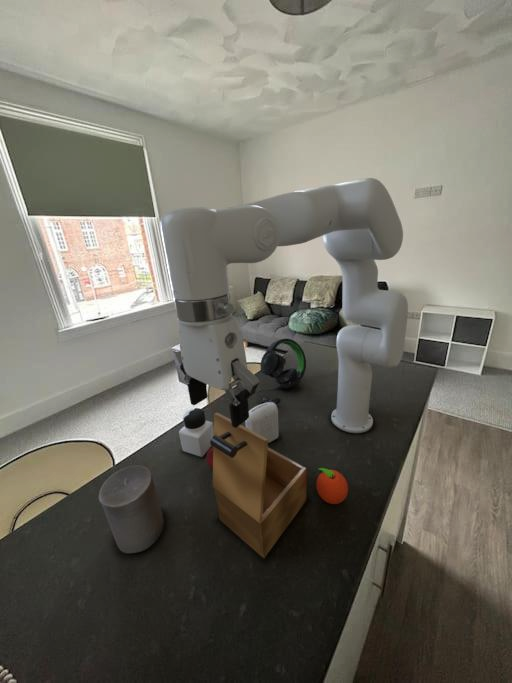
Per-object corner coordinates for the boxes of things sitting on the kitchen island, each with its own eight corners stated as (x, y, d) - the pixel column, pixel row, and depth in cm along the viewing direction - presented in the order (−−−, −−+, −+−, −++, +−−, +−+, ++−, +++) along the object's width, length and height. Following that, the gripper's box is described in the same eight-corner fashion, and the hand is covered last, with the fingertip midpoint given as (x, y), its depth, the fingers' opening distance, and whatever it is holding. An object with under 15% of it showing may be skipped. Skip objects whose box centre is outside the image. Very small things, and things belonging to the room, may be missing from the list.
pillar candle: (149, 502, 66) (134, 453, 61) (173, 526, 60) (159, 474, 55) (107, 535, 59) (87, 483, 54) (130, 566, 53) (110, 511, 48)
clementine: (306, 493, 66) (306, 470, 63) (325, 477, 69) (326, 455, 67) (334, 517, 60) (335, 493, 57) (353, 499, 63) (355, 475, 61)
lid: (217, 412, 54) (196, 421, 50) (268, 439, 46) (248, 452, 42) (215, 484, 57) (195, 498, 54) (262, 520, 50) (243, 539, 46)
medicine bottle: (215, 441, 84) (210, 408, 80) (202, 458, 78) (196, 423, 74) (196, 435, 87) (190, 403, 82) (182, 451, 81) (174, 417, 77)
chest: (264, 473, 72) (261, 443, 68) (306, 500, 64) (306, 468, 60) (219, 519, 61) (214, 487, 57) (264, 558, 53) (261, 523, 49)
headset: (270, 417, 107) (302, 360, 120) (292, 419, 95) (325, 356, 109) (237, 388, 101) (275, 332, 115) (257, 387, 90) (296, 325, 104)
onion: (212, 480, 71) (208, 456, 68) (205, 465, 75) (201, 442, 73) (233, 471, 73) (230, 447, 70) (225, 456, 78) (222, 433, 75)
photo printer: (272, 430, 87) (271, 396, 82) (281, 437, 84) (279, 402, 79) (244, 444, 82) (241, 409, 77) (252, 452, 79) (249, 416, 74)
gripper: (270, 308, 35) (276, 418, 42) (188, 296, 46) (202, 385, 52) (228, 325, 30) (242, 448, 37) (146, 307, 41) (168, 404, 47)
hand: (218, 411), depth 45 cm, fingers open, 9 cm apart
